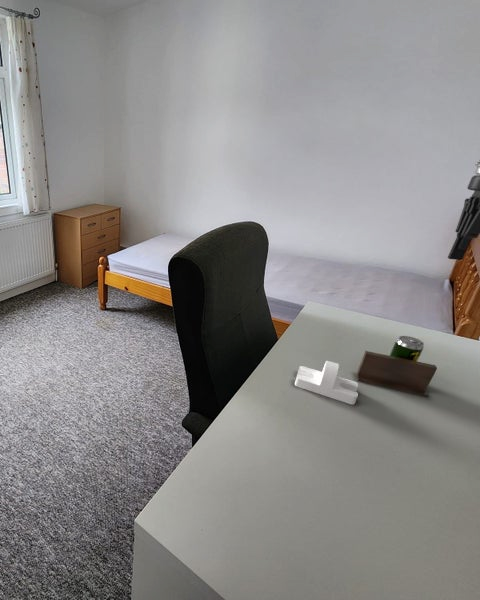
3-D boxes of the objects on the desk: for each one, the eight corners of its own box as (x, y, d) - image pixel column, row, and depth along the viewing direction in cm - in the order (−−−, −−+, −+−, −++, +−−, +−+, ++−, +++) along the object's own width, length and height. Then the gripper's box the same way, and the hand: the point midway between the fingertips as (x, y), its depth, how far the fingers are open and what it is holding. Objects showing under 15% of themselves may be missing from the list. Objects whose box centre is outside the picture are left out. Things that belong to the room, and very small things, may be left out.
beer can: (378, 376, 94) (394, 339, 88) (386, 369, 96) (402, 333, 91) (402, 387, 89) (420, 348, 84) (410, 379, 92) (428, 342, 87)
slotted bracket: (354, 390, 89) (364, 366, 85) (354, 405, 84) (364, 380, 80) (297, 372, 96) (304, 349, 93) (294, 385, 91) (301, 362, 88)
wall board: (422, 390, 88) (435, 365, 85) (426, 397, 85) (439, 372, 82) (355, 374, 94) (365, 350, 91) (357, 381, 92) (367, 356, 89)
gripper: (464, 173, 98) (430, 251, 108) (484, 177, 88) (445, 263, 98) (501, 173, 95) (463, 254, 104) (526, 177, 84) (481, 267, 94)
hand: (454, 258), depth 101 cm, fingers closed
